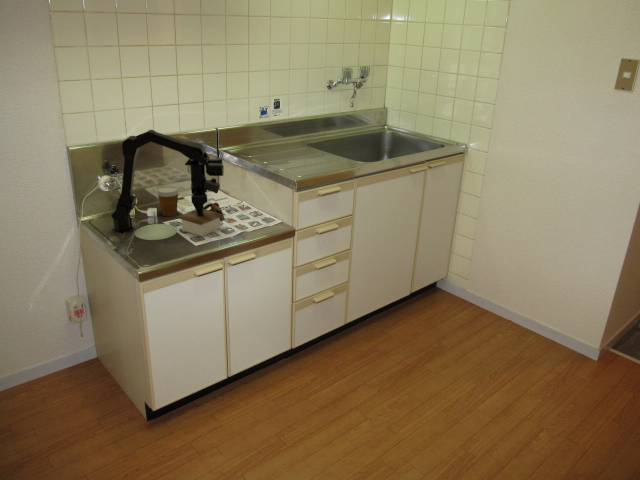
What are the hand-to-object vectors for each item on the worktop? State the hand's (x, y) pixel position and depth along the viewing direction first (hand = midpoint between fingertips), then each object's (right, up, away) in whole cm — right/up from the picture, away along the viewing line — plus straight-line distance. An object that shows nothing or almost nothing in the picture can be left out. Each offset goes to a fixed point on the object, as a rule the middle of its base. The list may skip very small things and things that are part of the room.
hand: (200, 211), depth 227 cm
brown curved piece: (+2, -3, +17) cm, 17 cm away
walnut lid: (0, -2, +1) cm, 2 cm away
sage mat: (-18, -9, 0) cm, 20 cm away
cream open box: (0, -8, +3) cm, 8 cm away
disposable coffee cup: (-18, -1, +19) cm, 26 cm away
